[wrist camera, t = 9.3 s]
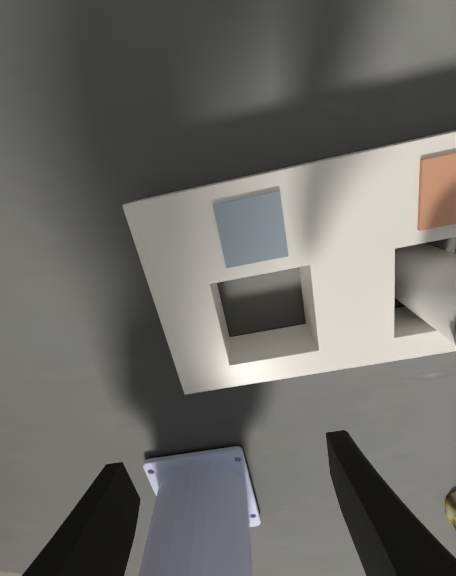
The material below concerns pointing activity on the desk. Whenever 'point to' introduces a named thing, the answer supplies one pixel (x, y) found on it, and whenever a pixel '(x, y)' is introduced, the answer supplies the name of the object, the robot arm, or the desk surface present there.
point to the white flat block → (298, 260)
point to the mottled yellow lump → (451, 509)
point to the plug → (428, 285)
